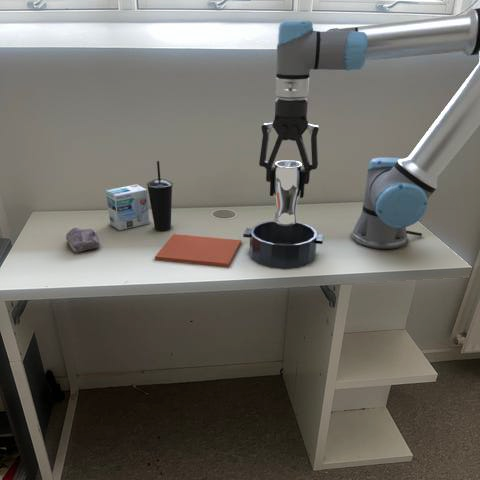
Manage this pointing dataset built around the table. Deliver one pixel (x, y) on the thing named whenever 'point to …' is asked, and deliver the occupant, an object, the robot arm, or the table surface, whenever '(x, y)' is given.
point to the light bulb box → (128, 206)
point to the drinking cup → (160, 201)
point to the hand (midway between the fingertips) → (286, 195)
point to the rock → (82, 239)
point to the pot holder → (199, 250)
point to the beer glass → (287, 191)
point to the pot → (283, 254)
